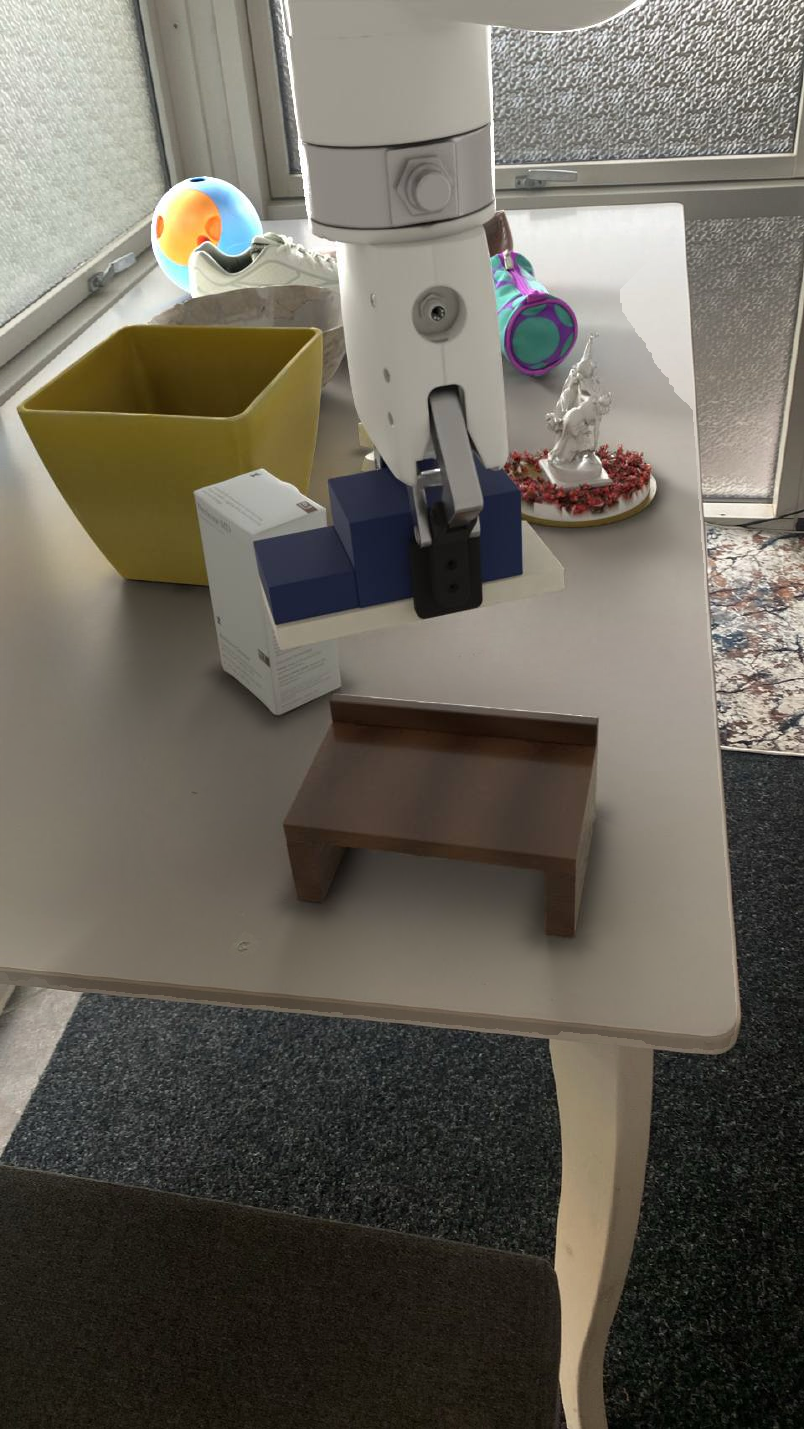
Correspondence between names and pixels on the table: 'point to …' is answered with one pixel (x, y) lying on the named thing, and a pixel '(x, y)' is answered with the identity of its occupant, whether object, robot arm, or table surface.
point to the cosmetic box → (259, 588)
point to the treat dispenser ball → (201, 224)
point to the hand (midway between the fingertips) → (430, 576)
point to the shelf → (450, 793)
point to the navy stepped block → (389, 558)
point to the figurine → (581, 463)
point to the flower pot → (174, 432)
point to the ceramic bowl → (270, 314)
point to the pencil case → (530, 317)
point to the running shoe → (260, 267)
